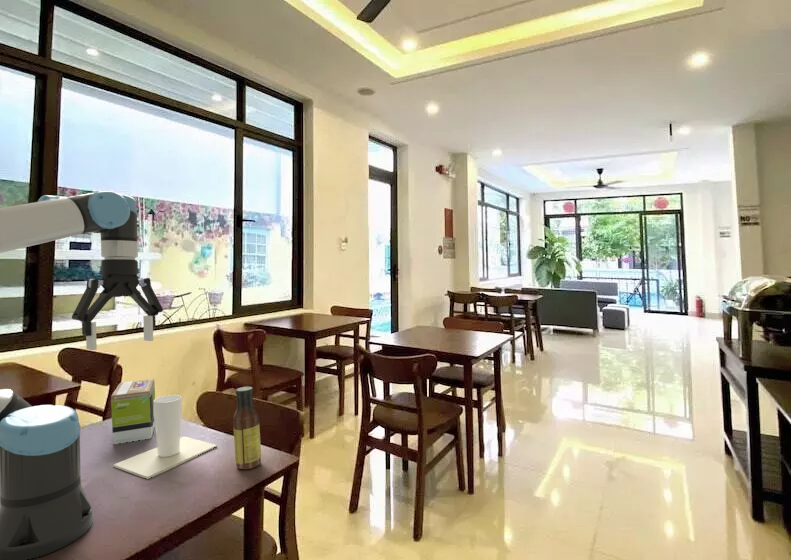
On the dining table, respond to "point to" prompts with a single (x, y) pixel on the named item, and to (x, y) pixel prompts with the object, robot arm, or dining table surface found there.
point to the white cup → (167, 424)
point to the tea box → (133, 411)
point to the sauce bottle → (246, 431)
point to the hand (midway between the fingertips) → (121, 344)
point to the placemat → (163, 458)
